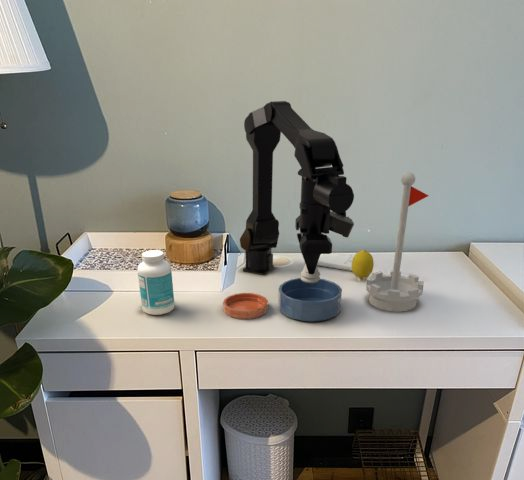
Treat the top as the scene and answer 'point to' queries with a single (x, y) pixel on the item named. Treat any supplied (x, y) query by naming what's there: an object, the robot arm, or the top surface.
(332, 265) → the hard drive
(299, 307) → the bowl
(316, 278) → the rook chess piece
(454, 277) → the top surface
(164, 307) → the pill bottle
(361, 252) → the lemon
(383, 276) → the flag stand
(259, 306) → the orange round lid
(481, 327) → the top surface
